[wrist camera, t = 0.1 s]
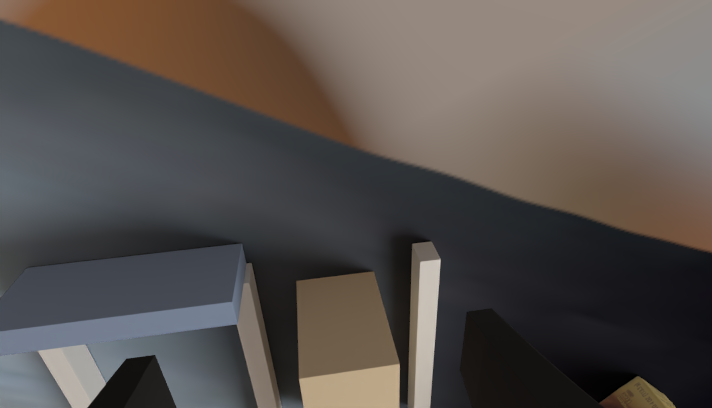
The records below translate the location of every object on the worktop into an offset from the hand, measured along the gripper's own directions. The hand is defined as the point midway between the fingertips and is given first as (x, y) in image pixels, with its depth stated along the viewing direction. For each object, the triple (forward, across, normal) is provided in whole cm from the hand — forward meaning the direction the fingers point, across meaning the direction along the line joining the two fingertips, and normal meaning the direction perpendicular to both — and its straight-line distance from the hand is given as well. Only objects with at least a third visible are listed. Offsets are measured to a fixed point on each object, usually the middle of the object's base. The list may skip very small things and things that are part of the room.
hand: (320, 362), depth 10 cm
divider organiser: (+10, +4, +11) cm, 15 cm away
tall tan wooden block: (+10, -1, +11) cm, 15 cm away
